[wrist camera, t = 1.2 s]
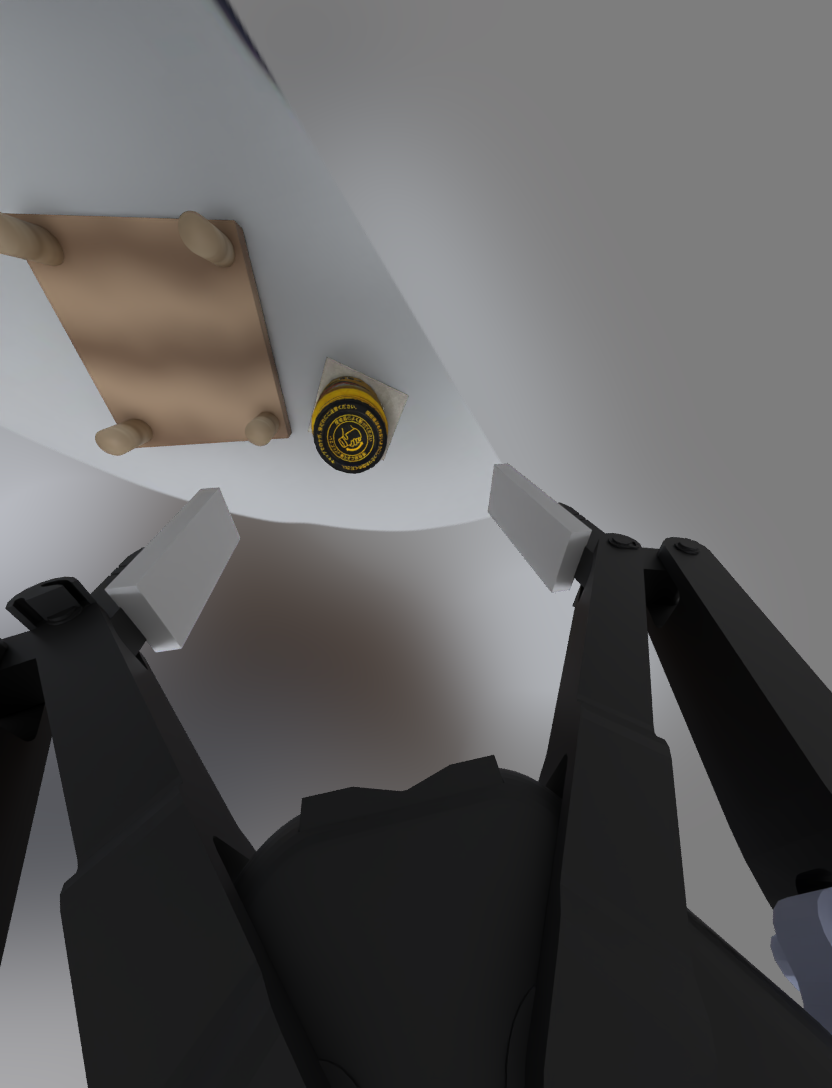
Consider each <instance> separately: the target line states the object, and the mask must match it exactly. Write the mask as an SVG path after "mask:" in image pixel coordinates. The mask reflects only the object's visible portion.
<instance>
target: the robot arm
mask: <svg viewBox="0 0 832 1088" xmlns="http://www.w3.org/2000/svg"><path fill="white" fill-rule="evenodd" d="M488 513H489V514H490V515H491V517H492V518H493V519H494V520H495V522H496V523H497V524H498V526H499V527H500V528H501V529H502V531H503V532H504V533H505V534H506V536H507V537H508V538H509V539H510V541H511V542H512V543H513V544H514V545H515V547H516V548H517V550H518V551H519V552H520V553H521V555H522V556H523V557H524V558H525V560H526V561H527V562H528V563H529V565H530V566H531V567H532V568H533V570H534V571H535V572H536V574H537V575H538V576H539V577H540V579H541V580H542V581H543V582H544V584H545V585H546V586H547V587H548V589H549V590H550V591H551V592H552V593H554V592H560V591H567V590H570V588H571V585H572V583H573V580H574V578H575V579H576V580H577V581H578V582H579V583H580V584H581V585H580V588H579V591H578V593H577V595H576V598H575V601H574V603H573V606H574V607H575V610H574V615H573V620H572V625H571V631H570V635H569V641H568V646H567V651H566V656H565V661H564V667H563V672H562V677H561V682H560V688H559V693H558V698H557V703H556V708H555V713H554V719H553V724H552V729H551V735H550V739H549V744H548V750H547V754H546V758H545V761H544V764H543V768H542V771H541V774H540V777H539V781H536V780H534V779H532V778H530V777H528V776H526V775H523V774H521V773H518V772H515V771H511V770H507V769H502V768H498V765H497V762H496V759H495V756H494V755H491V756H487V757H482V758H478V759H473V760H469V761H465V762H461V763H456V764H452V765H449V766H447V767H445V768H444V769H442V770H440V771H439V772H437V773H435V774H434V775H432V776H430V777H428V778H427V779H425V780H424V781H422V782H420V783H418V784H417V785H415V786H413V787H412V788H410V789H408V790H405V791H392V790H381V789H369V788H360V787H350V788H345V789H341V790H336V791H332V792H328V793H323V794H318V795H314V796H309V797H305V798H302V805H301V814H300V815H298V816H297V817H295V818H293V819H292V820H290V821H289V822H288V823H286V824H285V825H284V826H282V827H281V828H280V829H279V830H277V831H276V832H275V833H274V834H273V835H272V836H271V837H270V838H268V840H267V841H266V842H265V843H264V844H263V845H262V846H261V847H260V848H259V849H258V850H257V851H255V849H254V848H253V846H252V845H251V843H250V842H249V841H248V839H247V838H246V837H245V835H244V834H243V833H242V831H241V830H240V829H239V827H238V825H237V824H236V822H235V820H234V818H233V817H232V815H231V813H230V811H229V810H228V808H227V806H226V804H225V802H224V800H223V799H222V797H221V795H220V793H219V791H218V790H217V788H216V786H215V784H214V782H213V781H212V779H211V777H210V775H209V773H208V772H207V770H206V768H205V766H204V764H203V763H202V760H201V759H200V757H199V755H198V753H197V752H196V750H195V748H194V746H193V744H192V742H191V741H190V739H189V737H188V735H187V733H186V731H185V730H184V728H183V726H182V724H181V722H180V721H179V719H178V717H177V715H176V714H175V712H174V710H173V708H172V706H171V704H170V703H169V701H168V699H167V697H166V695H165V693H164V692H163V690H162V688H161V686H160V684H159V682H158V681H157V679H156V677H155V675H154V673H153V672H152V670H151V668H150V666H149V664H148V663H147V661H146V659H145V657H144V656H143V655H142V654H141V653H140V652H139V650H140V649H141V647H142V646H143V644H144V643H145V641H147V642H148V643H149V645H150V646H151V647H152V648H153V650H154V651H155V652H162V651H167V650H174V649H181V648H182V647H183V645H184V643H185V641H186V639H187V637H188V635H189V634H190V632H191V630H192V628H193V626H194V624H195V622H196V620H197V619H198V617H199V615H200V613H201V611H202V609H203V607H204V605H205V604H206V602H207V600H208V598H209V596H210V594H211V592H212V591H213V589H214V587H215V585H216V583H217V581H218V579H219V577H220V575H221V574H222V572H223V570H224V568H225V566H226V564H227V562H228V560H229V558H230V557H231V555H232V553H233V551H234V549H235V547H236V545H237V544H238V542H239V539H240V537H239V534H238V532H237V529H236V527H235V524H234V522H233V519H232V517H231V515H230V512H229V510H228V507H227V505H226V503H225V500H224V498H223V495H222V493H221V491H220V488H207V489H200V490H199V491H198V493H197V494H196V495H195V496H194V497H193V498H192V499H191V500H190V501H189V502H188V503H187V504H186V505H185V506H184V507H183V508H182V509H181V510H180V511H179V512H178V513H177V514H176V515H175V516H174V518H173V519H172V520H171V521H170V522H169V523H168V524H167V525H166V526H165V527H164V528H163V529H162V530H161V531H160V532H159V533H158V534H157V535H156V536H155V537H154V538H153V539H152V540H151V541H150V543H149V544H148V545H147V546H146V547H143V548H141V549H140V550H138V551H136V552H134V553H133V554H131V555H130V556H128V557H127V558H126V559H125V560H124V561H123V562H122V563H121V564H120V565H119V568H116V569H115V570H114V571H113V572H112V573H111V576H108V577H107V578H106V579H105V580H104V581H103V582H102V583H101V584H100V585H99V586H98V587H97V588H96V589H95V590H94V591H93V592H92V593H91V594H89V592H88V591H87V590H86V589H85V588H84V587H83V585H82V584H81V583H80V582H79V581H78V580H77V579H75V578H74V577H61V578H55V579H51V580H48V581H45V582H41V583H39V584H37V585H34V586H32V587H30V588H28V589H26V590H24V591H22V592H21V593H19V594H17V595H16V596H14V597H13V598H12V599H11V600H10V601H9V602H8V603H7V606H6V610H8V611H9V612H10V613H11V614H12V615H13V616H14V617H15V618H17V619H18V620H19V621H20V622H21V623H22V624H23V625H24V626H26V627H27V628H28V629H29V630H30V631H28V632H24V633H21V634H18V635H15V636H11V637H8V638H4V639H1V638H0V965H1V961H2V956H3V952H4V947H5V943H6V939H7V934H8V930H9V925H10V920H11V916H12V912H13V907H14V903H15V898H16V894H17V890H18V885H19V880H20V876H21V871H22V867H23V863H24V858H25V854H26V849H27V845H28V840H29V836H30V831H31V827H32V822H33V818H34V814H35V809H36V805H37V800H38V796H39V791H40V787H41V782H42V778H43V773H44V768H45V765H46V760H47V756H48V751H49V747H50V742H51V738H53V743H54V748H55V753H56V758H57V763H58V767H59V772H60V777H61V782H62V787H63V792H64V797H65V802H66V806H67V811H68V816H69V820H70V826H71V831H72V836H73V840H74V845H75V850H76V855H77V859H78V869H77V872H76V874H75V875H73V876H72V877H71V878H70V879H69V880H67V881H66V882H65V883H64V885H63V888H62V891H61V894H60V913H61V919H62V925H63V932H64V938H65V944H66V950H67V957H68V964H69V969H70V976H71V983H72V989H73V995H74V1001H75V1008H76V1015H77V1021H78V1027H79V1033H80V1040H81V1046H82V1053H83V1059H84V1065H85V1072H86V1078H87V1084H88V1088H832V693H831V691H830V690H829V689H828V688H827V687H826V685H825V684H824V683H823V682H822V681H821V680H820V679H819V677H818V676H817V675H816V674H815V673H814V672H813V670H812V669H811V668H810V667H809V666H808V664H807V663H806V662H805V661H804V660H803V659H802V658H801V656H800V655H799V654H798V653H797V652H796V650H795V649H794V648H793V647H792V646H791V645H790V644H789V642H788V641H787V640H786V639H785V638H784V636H783V635H782V634H781V633H780V632H779V631H778V630H777V628H776V627H775V626H774V625H773V624H772V623H771V621H770V620H769V619H768V618H767V617H766V616H765V614H764V613H763V612H762V611H761V610H760V609H759V607H758V606H757V605H756V604H755V603H754V602H753V600H752V599H751V598H750V597H749V596H748V595H747V593H746V592H745V591H744V590H743V589H742V588H741V586H739V584H738V583H737V582H736V581H735V580H734V578H733V577H732V576H731V575H730V574H729V572H728V571H727V570H726V569H725V568H724V567H723V565H722V564H721V563H720V562H719V561H718V560H717V558H716V557H715V556H714V555H713V554H712V553H711V552H710V550H708V549H707V548H706V547H705V546H703V545H701V544H699V543H698V542H696V541H693V540H692V541H691V539H687V538H685V539H684V538H677V537H670V538H666V539H665V540H664V541H663V543H662V545H661V547H660V549H653V548H642V547H641V545H640V544H639V543H638V542H637V541H636V540H634V539H632V538H630V537H628V536H625V535H621V534H615V533H606V534H605V533H604V532H603V531H601V530H600V529H599V528H597V527H596V526H595V525H593V524H592V523H591V522H590V521H588V520H586V519H585V518H584V517H583V516H582V515H579V513H578V512H577V511H575V510H574V509H573V508H571V507H569V506H567V505H565V504H562V503H557V502H556V501H555V500H553V499H552V498H551V497H549V496H548V495H547V494H546V493H545V492H543V491H542V490H541V489H540V488H538V487H537V486H536V485H535V484H533V483H532V482H531V481H530V480H528V479H527V478H526V477H525V476H523V475H522V474H521V473H520V472H518V471H517V470H516V469H515V468H513V467H512V466H511V465H510V464H508V463H507V464H495V465H494V470H493V477H492V484H491V492H490V499H489V506H488ZM647 631H648V632H647ZM648 633H649V636H650V638H651V641H652V643H653V645H654V648H655V650H656V652H657V655H658V657H659V659H660V662H661V664H662V667H663V669H664V672H665V674H666V676H667V679H668V681H669V683H670V686H671V688H672V691H673V693H674V695H675V698H676V700H677V703H678V705H679V707H680V710H681V712H682V714H683V717H684V719H685V722H686V724H687V726H688V729H689V731H690V733H691V736H692V738H693V741H694V743H695V745H696V748H697V750H698V753H699V755H700V757H701V760H702V762H703V765H704V767H705V769H706V772H707V774H708V776H709V779H710V781H711V784H712V786H713V788H714V791H715V793H716V795H717V798H718V800H719V803H720V805H721V808H722V810H723V812H724V815H725V817H726V820H727V822H728V824H729V827H730V829H731V831H732V833H733V835H734V837H735V840H736V842H737V844H738V846H739V848H740V850H741V852H742V855H743V857H744V859H745V861H746V863H747V865H748V866H749V868H750V870H751V872H752V873H753V875H754V877H755V879H756V881H757V882H758V885H759V886H760V888H761V890H762V892H763V894H764V895H765V897H766V899H767V901H768V902H769V904H770V906H771V907H772V909H773V924H774V928H775V932H776V934H775V935H774V936H772V937H771V950H772V952H773V956H774V959H775V961H776V963H777V964H778V966H779V967H780V969H781V971H782V972H783V974H784V976H785V977H786V978H787V979H788V980H789V981H790V982H791V983H792V984H793V985H794V987H796V989H797V990H798V991H800V993H801V996H802V1000H803V1003H804V1009H803V1008H802V1007H801V1006H800V1005H799V1004H797V1003H796V1002H795V1001H794V1000H793V999H792V998H790V997H789V996H788V995H787V994H786V993H785V992H784V991H782V990H781V989H780V988H779V987H778V986H776V985H775V984H774V983H773V982H772V981H771V980H770V979H768V978H767V977H766V976H765V975H764V974H763V973H762V972H760V971H759V970H758V969H757V968H756V967H755V966H754V965H752V964H751V963H750V962H749V961H748V960H747V959H746V958H744V957H743V956H742V955H741V954H740V953H738V952H737V951H736V950H735V949H734V948H733V947H732V946H730V945H729V944H728V943H727V942H726V941H725V940H724V939H722V938H721V937H720V936H719V935H718V934H717V933H716V932H714V931H713V930H712V929H711V928H710V927H709V926H707V925H706V924H705V923H704V922H703V921H702V920H701V919H699V918H698V917H697V916H696V915H694V914H693V913H692V912H691V911H690V910H689V909H688V908H687V907H686V897H685V887H684V877H683V867H682V857H681V849H680V848H681V847H680V837H679V828H678V818H677V807H676V798H675V788H674V778H673V768H672V758H671V754H670V749H669V746H668V744H667V743H666V741H665V740H664V739H662V738H660V737H657V736H656V734H655V733H654V726H653V713H652V712H653V711H652V695H651V679H650V665H649V664H650V663H649V649H648V648H649V647H648Z"/></svg>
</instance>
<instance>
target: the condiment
mask: <svg viewBox="0 0 832 1088" xmlns="http://www.w3.org/2000/svg"><path fill="white" fill-rule="evenodd" d="M407 398H408V395H406V394H404V393H402V392H400V391H398V390H396V389H394V388H391V387H389V386H387V385H385V384H383V383H381V382H379V381H377V380H375V379H372V378H370V377H368V376H366V375H364V374H362V373H360V372H358V371H356V370H354V369H351V368H349V367H347V366H345V365H343V364H341V363H339V362H337V361H335V360H332V359H330V358H328V357H327V358H326V362H325V366H324V369H323V373H322V377H321V381H320V385H319V389H318V393H317V397H316V401H315V405H314V409H313V413H312V417H311V421H310V425H309V428H308V432H309V433H312V434H313V437H314V443H315V445H316V449H317V451H318V453H319V454H320V456H321V458H322V459H323V460H324V461H325V462H326V463H328V464H329V465H330V466H331V467H333V468H334V469H336V470H338V471H342V472H345V473H353V474H356V473H361V472H364V471H366V470H369V469H370V468H373V467H374V466H375V464H377V463H378V462H379V461H380V460H384V458H385V456H386V452H387V450H388V447H389V445H390V442H391V439H392V437H393V434H394V431H395V429H396V426H397V423H398V421H399V419H400V416H401V414H402V411H403V408H404V406H405V403H406V401H407ZM381 404H382V405H381ZM383 408H384V410H383Z"/></svg>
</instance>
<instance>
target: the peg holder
mask: <svg viewBox="0 0 832 1088" xmlns="http://www.w3.org/2000/svg"><path fill="white" fill-rule="evenodd" d="M0 254H4V255H9V256H13V257H17V258H21V259H25V260H27V262H28V264H29V266H30V267H31V269H32V271H33V273H34V275H35V276H36V278H37V280H38V282H39V284H40V286H41V287H42V289H43V291H44V293H45V295H46V296H47V298H48V300H49V302H50V304H51V305H52V307H53V309H54V311H55V313H56V315H57V316H58V318H59V320H60V322H61V324H62V325H63V327H64V329H65V331H66V333H67V335H68V336H69V338H70V340H71V342H72V344H73V345H74V347H75V349H76V351H77V353H78V354H79V356H80V358H81V360H82V362H83V364H84V365H85V367H86V369H87V371H88V373H89V374H90V376H91V378H92V380H93V382H94V384H95V385H96V387H97V389H98V391H99V393H100V394H101V396H102V398H103V400H104V402H105V403H106V405H107V407H108V409H109V411H110V413H111V414H112V416H113V418H114V420H115V422H116V423H117V424H116V425H114V426H111V427H109V428H106V429H103V430H101V431H99V432H97V433H96V435H95V440H96V443H97V444H98V446H99V447H100V448H101V449H102V450H103V451H105V452H106V453H109V454H111V455H116V456H119V455H123V454H125V453H127V452H129V451H131V450H132V449H134V448H142V447H158V446H173V445H188V444H204V443H219V442H235V441H250V442H251V443H253V444H255V445H257V446H264V445H266V444H268V443H269V442H270V440H271V439H281V438H289V436H290V435H291V433H292V432H291V428H290V424H289V420H288V415H287V411H286V407H285V403H284V399H283V395H282V391H281V387H280V382H279V378H278V374H277V370H276V366H275V362H274V358H273V353H272V349H271V345H270V341H269V337H268V333H267V329H266V325H265V320H264V316H263V312H262V308H261V304H260V300H259V296H258V292H257V287H256V283H255V279H254V275H253V271H252V267H251V263H250V259H249V254H248V250H247V246H246V242H245V238H244V234H243V230H242V228H241V227H240V226H239V225H238V224H237V223H236V222H235V221H234V220H207V219H205V218H204V217H203V216H202V215H200V214H199V213H197V212H194V211H186V212H184V213H182V215H181V216H180V218H179V219H170V218H138V217H105V216H73V215H40V214H8V213H1V212H0Z"/></svg>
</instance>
